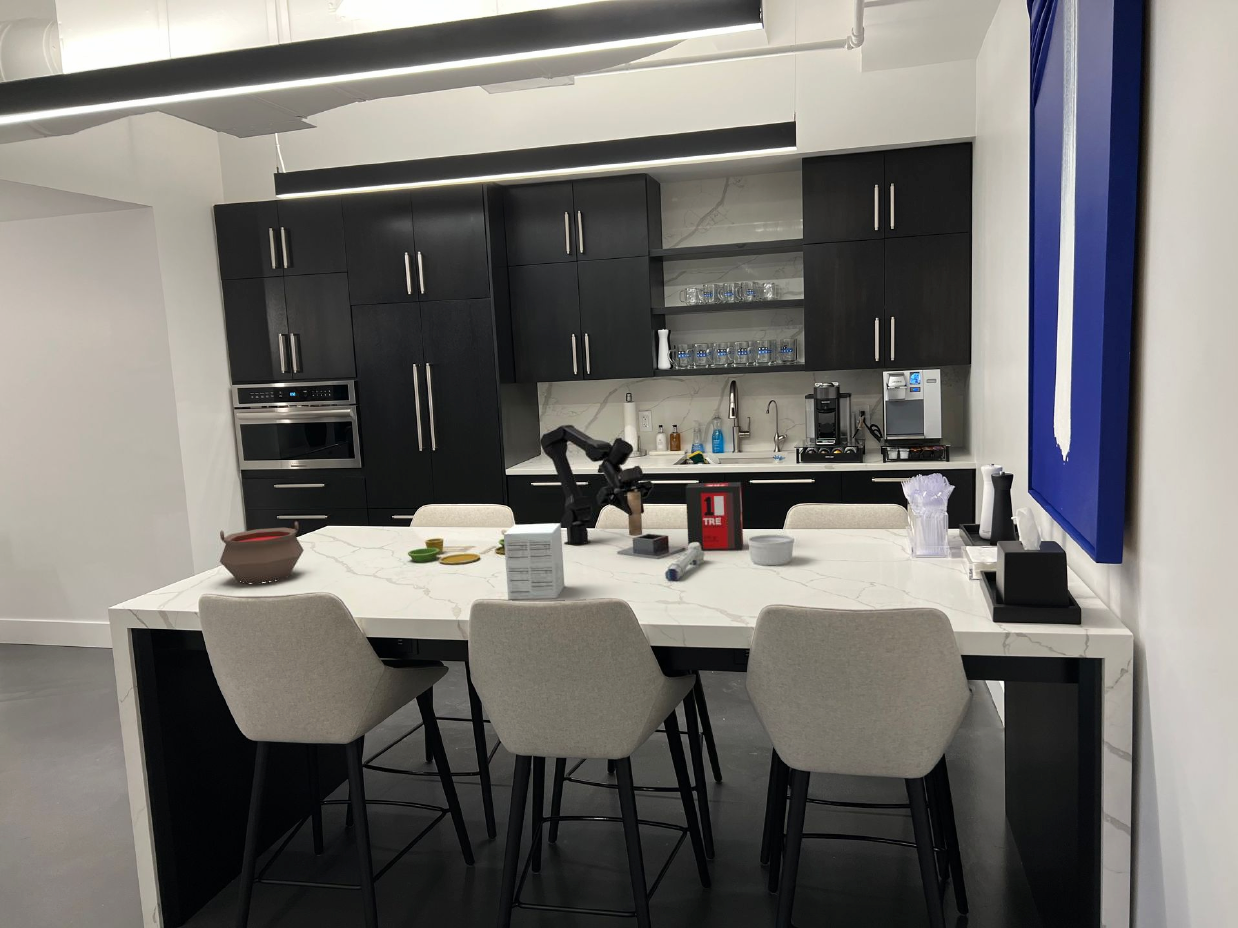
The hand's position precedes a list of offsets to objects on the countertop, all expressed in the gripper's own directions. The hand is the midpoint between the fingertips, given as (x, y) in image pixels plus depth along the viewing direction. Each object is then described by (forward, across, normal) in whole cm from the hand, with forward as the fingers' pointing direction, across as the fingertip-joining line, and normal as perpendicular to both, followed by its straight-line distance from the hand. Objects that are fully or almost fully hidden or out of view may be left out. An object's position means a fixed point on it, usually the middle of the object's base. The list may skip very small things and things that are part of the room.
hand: (637, 513), depth 281 cm
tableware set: (-19, -34, +39) cm, 55 cm away
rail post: (+4, 0, +6) cm, 7 cm away
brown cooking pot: (-34, -95, +54) cm, 115 cm away
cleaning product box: (+15, +24, +4) cm, 29 cm away
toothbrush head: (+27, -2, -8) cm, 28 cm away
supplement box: (+20, -45, -1) cm, 49 cm away
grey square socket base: (+8, +6, +11) cm, 15 cm away
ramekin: (+34, +22, -15) cm, 43 cm away
